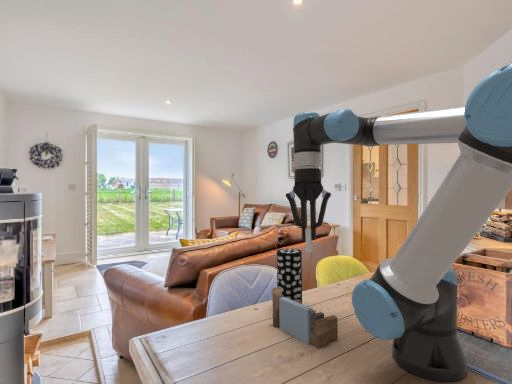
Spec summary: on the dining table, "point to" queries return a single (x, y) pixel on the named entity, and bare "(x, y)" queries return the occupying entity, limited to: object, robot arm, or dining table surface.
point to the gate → (295, 319)
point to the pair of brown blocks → (311, 323)
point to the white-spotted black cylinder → (290, 273)
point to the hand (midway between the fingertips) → (309, 251)
